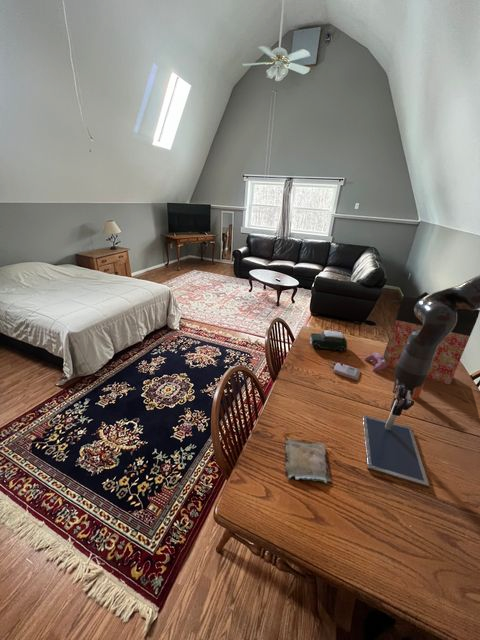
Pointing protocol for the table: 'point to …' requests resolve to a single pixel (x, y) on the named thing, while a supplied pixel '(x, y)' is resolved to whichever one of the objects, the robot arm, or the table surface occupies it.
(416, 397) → the pen cup
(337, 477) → the table surface
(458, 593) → the table surface
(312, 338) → the miniature car
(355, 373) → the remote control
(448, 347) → the gift bag
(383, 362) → the video game controller
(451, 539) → the table surface
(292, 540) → the table surface
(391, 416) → the stylus
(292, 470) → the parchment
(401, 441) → the tablet
